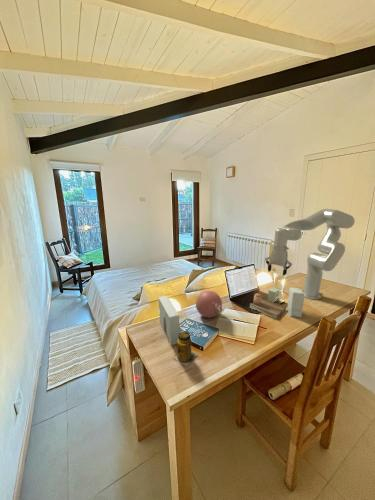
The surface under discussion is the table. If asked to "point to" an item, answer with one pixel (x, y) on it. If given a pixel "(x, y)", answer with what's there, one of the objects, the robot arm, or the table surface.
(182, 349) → the condiment
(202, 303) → the pink ball
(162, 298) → the skincare box
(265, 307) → the shelf
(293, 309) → the skincare box
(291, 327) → the table surface
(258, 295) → the jar
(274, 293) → the carton
